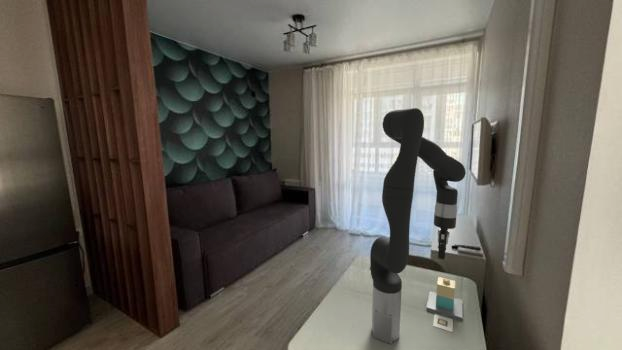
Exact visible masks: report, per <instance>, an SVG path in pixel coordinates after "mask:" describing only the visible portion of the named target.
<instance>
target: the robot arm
mask: <svg viewBox="0 0 622 350" xmlns="http://www.w3.org/2000/svg"><path fill="white" fill-rule="evenodd" d="M424 117H425V116H424V113H423V112H422V110H421V109H419V108H418V107H411V108H409V107H407V108H401V109H395V110H394V109H393V110H391V111H389V112H387V113H386V114H385V115H384V116H383V120H382V129H383V132H384V134H385V135H386V136H387V137H388V138H390V139H391V140H392V141H395V142H396V143H398V144H400V146H399V152H398V155H397V157H396V160H394V163H393V164H392V166H391V167H390V168H389V169H388V171H387V173H386V174H385V177H384V178H383V184H382V186H383V187H382V194H381V202H382V206H383V210H384V214H385V216H386V218H387V222H388V226H389V237H387V236H380V237H378V238H376V239H375V240H374V241H373V243H372V245H371V247H370V254H369V255H370V256H369V257H370V258H369V260H370V266H371V269H370V276H371V279H372V303H371V304H372V306H371V307H372V308H371V310H372V311H371V315H372V316H371V332H372V337H373V338H375V339H377V340H380V341H382V342H384V343H387V344H390V345H392V344H393V342H395V341H397V340H399V338H400V336H401V335H400V334H401V331H400V330H401V313H402V312H401V308H402V287H403V286H402V284H403V282H402V281H403V280H402V278H401V276H400V275H399V274H400V273H402V272H403V271H404V270H405V269H406V268H407V265H408V262H409V256H410V225H411V213H412V205H413V198H414V192H415V191H414V190H415V178H416V172H417V171H416V169H417V165H418V158H419V159H421V160H422V162H424V163H425V164H426V165H427V166H428V167H429V168H430V169H432V170H433V171H432V175H433V180H434V185H435V189H436V197H435V198H436V199H435V205H434V214H433V215H434V216H433V225H434V227H436V228H438V229H437V244H438V245H437V249H438V255H437V258H438V259H440V260H445V258H446V250H447V245H449V244H448V243H449V238H450V232H451V231H450V230H453V229H456V225H457V213H458V198H459V197H458V195H459V192H458V189H457V188H456V187H453V186H451V185H449V183H448V182H452V183H457V182H459V183H460V182H461V181H462V180H464V179H465V177H466V167H465V166H464V165H463V163H462V162H461V161H460V160H457V159H455V158H453V157H452V156H450V155H449V154H447V152H445V151H444V150H443V149H442V147H440V146H439V144H436V143H435V142H433V141H431V140H430V139H428V138H425V137H423V133H424V129H425V118H424Z"/></svg>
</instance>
